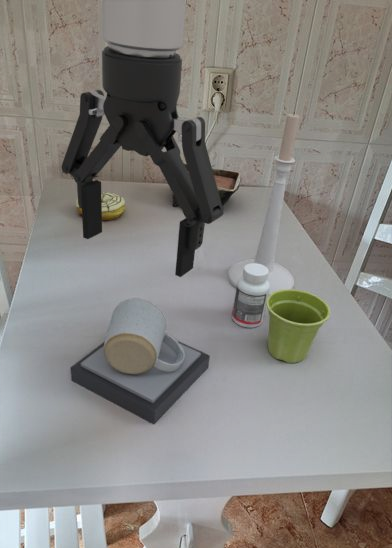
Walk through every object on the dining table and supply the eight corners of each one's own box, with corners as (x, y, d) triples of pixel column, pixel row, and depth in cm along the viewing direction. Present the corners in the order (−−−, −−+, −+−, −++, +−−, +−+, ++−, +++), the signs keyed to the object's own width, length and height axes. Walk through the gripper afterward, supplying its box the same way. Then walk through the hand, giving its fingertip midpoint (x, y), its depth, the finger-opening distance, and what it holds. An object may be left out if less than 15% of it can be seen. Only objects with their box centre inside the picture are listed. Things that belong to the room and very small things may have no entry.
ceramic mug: (101, 375, 64) (100, 328, 60) (112, 338, 71) (112, 293, 66) (181, 384, 65) (186, 339, 60) (185, 346, 71) (190, 302, 66)
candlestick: (232, 258, 100) (257, 98, 81) (294, 269, 99) (333, 109, 80) (223, 290, 90) (249, 115, 71) (292, 302, 89) (337, 128, 70)
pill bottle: (238, 307, 86) (247, 257, 80) (267, 316, 84) (278, 266, 78) (226, 322, 82) (234, 271, 76) (256, 332, 81) (266, 281, 75)
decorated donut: (90, 200, 117) (89, 185, 114) (131, 209, 115) (132, 194, 112) (68, 216, 109) (67, 200, 106) (113, 226, 107) (112, 209, 104)
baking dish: (223, 227, 116) (236, 187, 110) (154, 202, 117) (163, 160, 112) (235, 210, 128) (247, 173, 122) (172, 187, 129) (181, 149, 123)
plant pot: (276, 376, 72) (288, 329, 67) (246, 339, 79) (255, 293, 74) (327, 364, 76) (343, 318, 70) (295, 329, 82) (307, 285, 77)
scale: (69, 379, 68) (68, 363, 66) (130, 332, 78) (131, 316, 76) (154, 424, 63) (155, 408, 61) (208, 367, 72) (210, 352, 71)
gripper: (280, 70, 44) (242, 275, 57) (68, 25, 52) (78, 212, 66) (242, 80, 39) (210, 303, 52) (14, 27, 47) (37, 230, 61)
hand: (136, 252), depth 59 cm, fingers open, 13 cm apart
